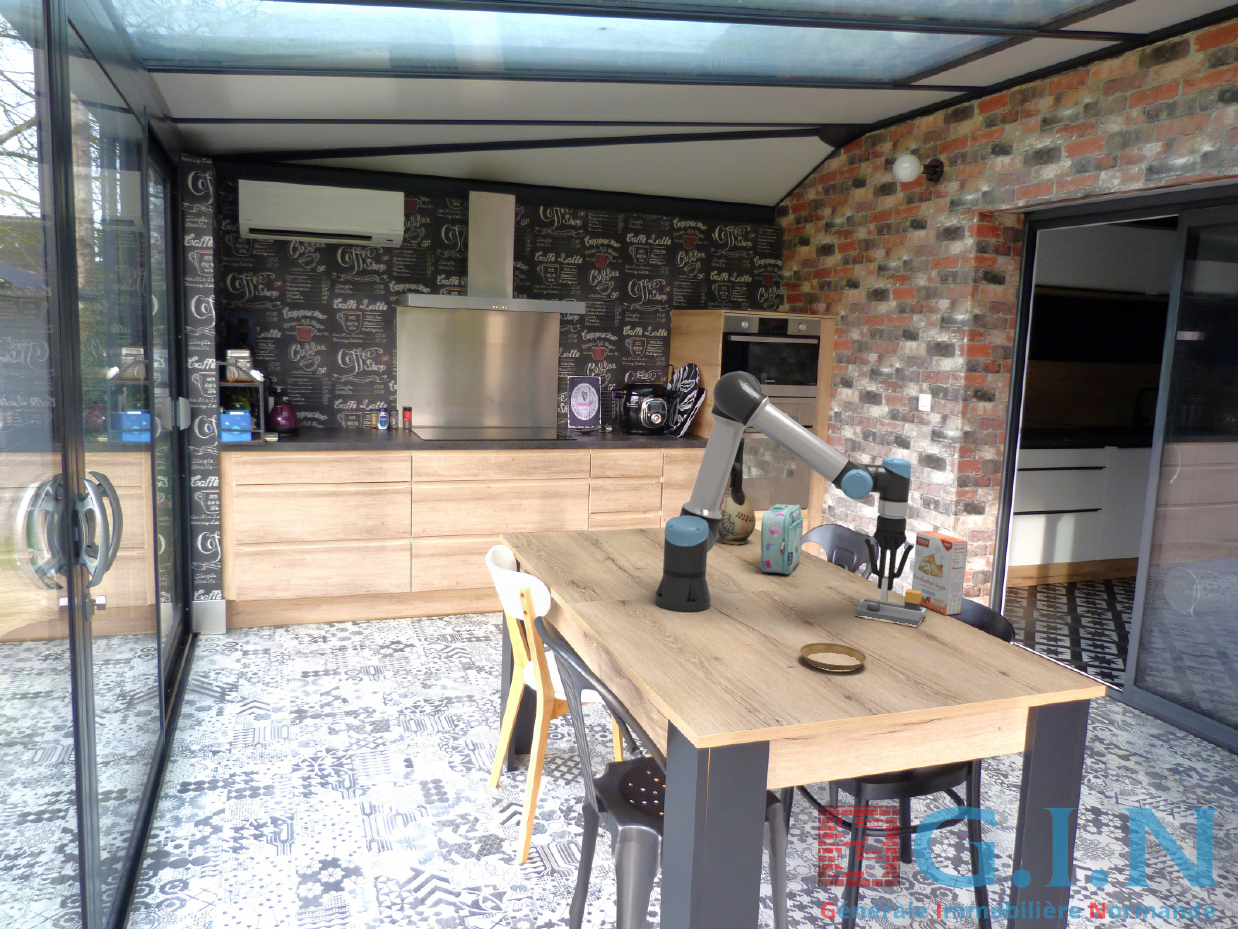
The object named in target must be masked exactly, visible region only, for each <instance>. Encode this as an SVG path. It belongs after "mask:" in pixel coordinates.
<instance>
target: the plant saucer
mask: <svg viewBox="0 0 1238 929" xmlns="http://www.w3.org/2000/svg"><path fill="white" fill-rule="evenodd" d="M799 652H800V654H801V656H802V658H803V659H804V660H805V661H806V662H807V663H808V664H809V665H810V664H812V665H814V666H816V667H820V668H824V669H829V670H842V671H843V670H852V669H855V670H857V669H859V668H860V667H861V666H863V665H864V663H865V662H866V661H867V660H868V657H867V655H866V654H865V653H864V652H863V651H861V650H859V649H857V648H854V647H852V646H850V645H849V646H848V645H844V644H841V643H840V644H839V643H834V642H812V643H807V644H804V645H802V646H800V648H799ZM830 652H831V653H836V654H845V655H848V656H850V657H854V658H856V660H858V661H860V664H855V665H834V664H827V663H822V662H818V661H815V660H812V659H810V658H808V656H809V655H811V654H818V653H830ZM812 665H811V666H812ZM856 668H857V669H856Z"/></svg>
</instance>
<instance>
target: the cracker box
mask: <svg viewBox="0 0 1238 929" xmlns="http://www.w3.org/2000/svg"><path fill="white" fill-rule="evenodd" d="M967 553H968V540H966V539H965V540H964V539H961V538H958V537H954V536H951V535H949V534H944V533H941V532H938V531H933V530H919V531H916V538H915V546H914V557H913V558H914V560H913V572H912V583H911V590H917V591H922V592H921V601H920V606H921V605H922V606H921V607H924V606H925V607H924V608H926V607H927V609H929V610H931V609H933V610H932V611H934V610H935V611H934V612H936V611H938V612H939V614H941V613H944V615H943V616H953V615H960V614H961V612H962V604H963V603H962V602H963V593H964V582H965V572H966V562H967ZM960 598H961V599H960ZM938 612H937V613H938Z"/></svg>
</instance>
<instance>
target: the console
mask: <svg viewBox="0 0 1238 929" xmlns="http://www.w3.org/2000/svg"><path fill="white" fill-rule="evenodd" d="M858 605H859V606H858V607H857V608H856V609H855V615H857V616H867V617H872V618H877V619H885V620H890V621H893V622H899V623H908V624H912V625H917V626H918V624H919V623H920V621H921V619H922V618H923V616H924V615H925V613H926V614H927V609H928V608H926V607H924V606H920V610H919V611H915V610H909V609H904V605H905V603H900V602H899V603H898V602H894V601H889V600H888V601H887V602H886V603H885V602H880V599H876V598H875V599H874V598H870V597H869V598H867V597H866V598H865V597H863V598H862V599H860V600H859V604H858ZM920 624H921V623H920ZM918 627H919V626H918Z"/></svg>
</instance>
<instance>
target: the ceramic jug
mask: <svg viewBox="0 0 1238 929" xmlns="http://www.w3.org/2000/svg"><path fill="white" fill-rule="evenodd" d="M743 471H744V470H743V467H742V465H741V463H740V462H733V466H732V469H731V472H730V475H729V476H730V483H729V486H728V488H727V489H726V490H725V491H724V494H723V497H722V501H721V504H720V507H719V511H720V513H721V515H722V518H721V522H720V525H719V528H718V537H719V538H720V539H721V542H722V543H723V544H729V545H735V546H737V545H743V544H747V543H748V538H749V537H751V536H752V535H753V532H754V530H755V528H756V515H755V510H754V506H753V505H752V503H751V502H750V500H749V498H748V496H747V495H746V492H745V491H744V490H743V478H744V476H743V473H744V472H743Z"/></svg>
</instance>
